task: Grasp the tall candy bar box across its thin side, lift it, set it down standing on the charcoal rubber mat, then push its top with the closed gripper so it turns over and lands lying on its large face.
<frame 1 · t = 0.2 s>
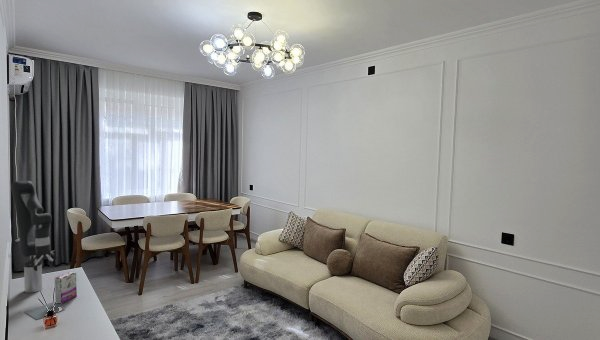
hand: (43, 268, 214), 18 cm above the table, tool pointing down, fingers open, 8 cm apart
mat: (44, 311, 194), on the table
candy bar box: (66, 300, 209), on the table
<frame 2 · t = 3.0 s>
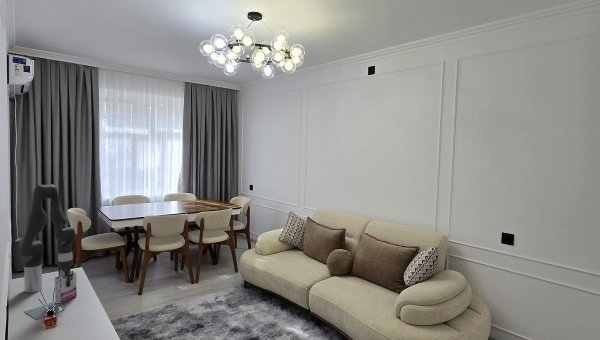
hand: (65, 284, 209), 10 cm above the table, tool pointing down, fingers closed on candy bar box, 6 cm apart
candy bar box: (66, 300, 209), on the table, touching gripper
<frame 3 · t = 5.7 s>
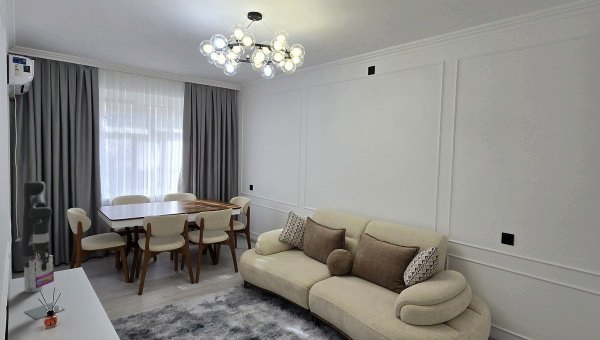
hand: (41, 268, 194), 25 cm above the table, tool pointing down, fingers closed on candy bar box, 6 cm apart
candy bar box: (41, 284, 195), point 15 cm above the table, touching gripper
when the fingers open (11 cm above the table, at t = 8.7 s): candy bar box stays where it is, resting on mat.
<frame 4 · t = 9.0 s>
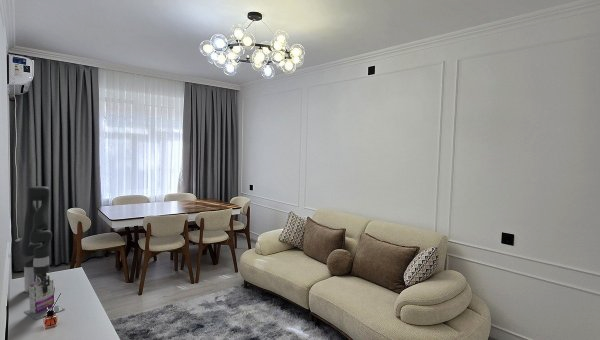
hand: (41, 291, 195), 11 cm above the table, tool pointing down, fingers open, 8 cm apart
candy bar box: (41, 309, 196), resting on mat
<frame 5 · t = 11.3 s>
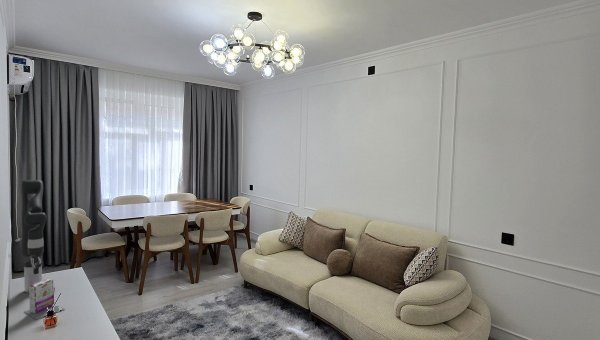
hand: (36, 273, 199), 20 cm above the table, tool pointing down, fingers closed
nothing on the table moved.
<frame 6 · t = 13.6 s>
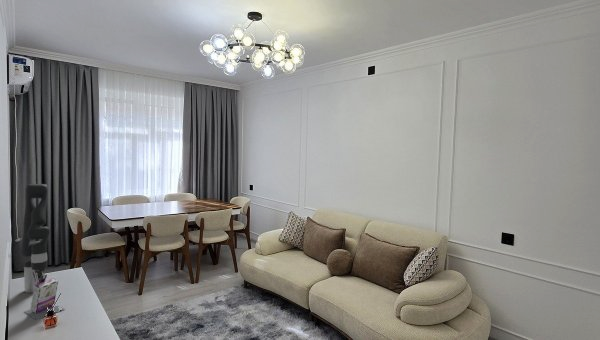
hand: (39, 288, 196), 12 cm above the table, tool pointing down, fingers closed
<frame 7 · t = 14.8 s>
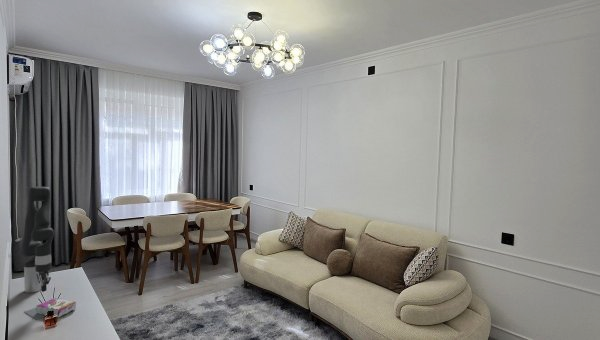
hand: (43, 291, 194), 12 cm above the table, tool pointing down, fingers closed
candy bar box: (45, 305, 195), point 3 cm above the table, touching mat
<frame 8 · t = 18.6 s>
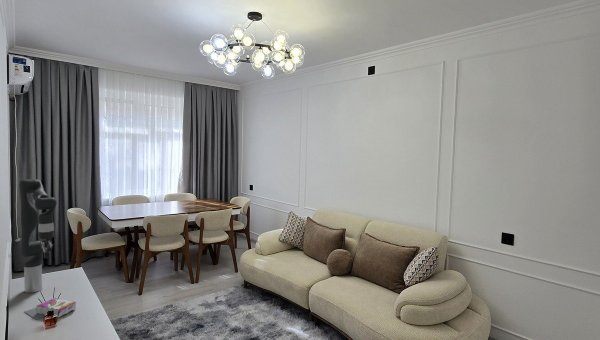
hand: (46, 257, 201), 29 cm above the table, tool pointing down, fingers closed
nothing on the table moved.
at the end: candy bar box tilted 91°; candy bar box inside the target area (8.6 cm from its centre), point 2.9 cm above the table; the gripper is holding nothing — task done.
